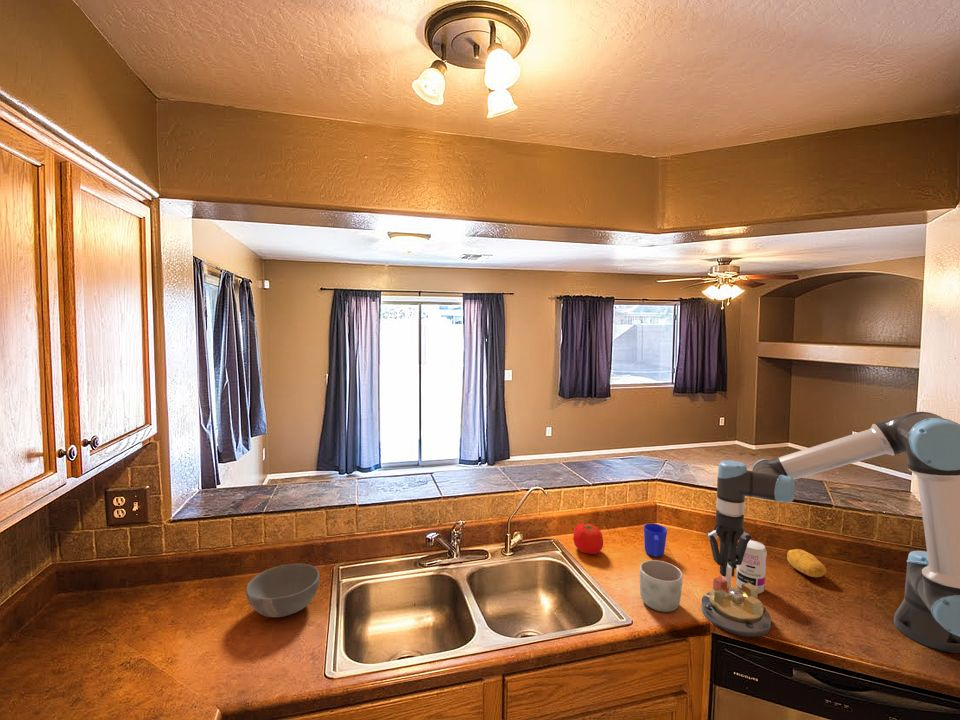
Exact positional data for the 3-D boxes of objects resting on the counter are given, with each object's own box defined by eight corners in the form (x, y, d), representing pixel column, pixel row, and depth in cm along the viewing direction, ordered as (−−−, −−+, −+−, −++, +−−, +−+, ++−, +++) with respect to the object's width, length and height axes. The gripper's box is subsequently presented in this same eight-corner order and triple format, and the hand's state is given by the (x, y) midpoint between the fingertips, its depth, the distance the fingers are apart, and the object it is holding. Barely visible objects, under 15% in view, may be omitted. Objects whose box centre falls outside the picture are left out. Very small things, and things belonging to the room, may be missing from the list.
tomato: (584, 540, 182) (585, 516, 182) (610, 554, 172) (611, 528, 171) (564, 548, 176) (565, 522, 175) (589, 562, 166) (590, 535, 165)
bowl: (333, 596, 143) (333, 566, 143) (289, 639, 124) (288, 604, 123) (280, 585, 149) (279, 556, 148) (230, 624, 130) (229, 591, 129)
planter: (687, 604, 141) (689, 571, 141) (670, 622, 133) (671, 586, 132) (650, 587, 150) (651, 555, 150) (631, 602, 142) (632, 569, 141)
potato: (801, 562, 167) (802, 544, 167) (831, 583, 154) (832, 564, 153) (780, 562, 167) (781, 544, 167) (808, 584, 154) (810, 564, 153)
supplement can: (756, 581, 155) (759, 539, 153) (769, 596, 146) (772, 551, 145) (731, 579, 155) (733, 537, 154) (742, 594, 147) (745, 549, 146)
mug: (643, 562, 166) (645, 535, 166) (642, 546, 178) (643, 522, 177) (668, 565, 164) (669, 539, 163) (664, 550, 176) (665, 525, 175)
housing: (778, 617, 135) (780, 593, 135) (759, 646, 123) (760, 620, 123) (714, 591, 149) (715, 569, 148) (691, 614, 136) (692, 590, 136)
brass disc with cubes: (732, 590, 145) (733, 573, 144) (774, 617, 132) (775, 598, 131) (698, 598, 140) (699, 581, 139) (738, 627, 127) (739, 608, 126)
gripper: (744, 506, 143) (740, 578, 145) (702, 506, 143) (699, 578, 145) (758, 517, 135) (754, 592, 137) (715, 517, 135) (711, 592, 137)
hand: (726, 585), depth 141 cm, fingers closed
